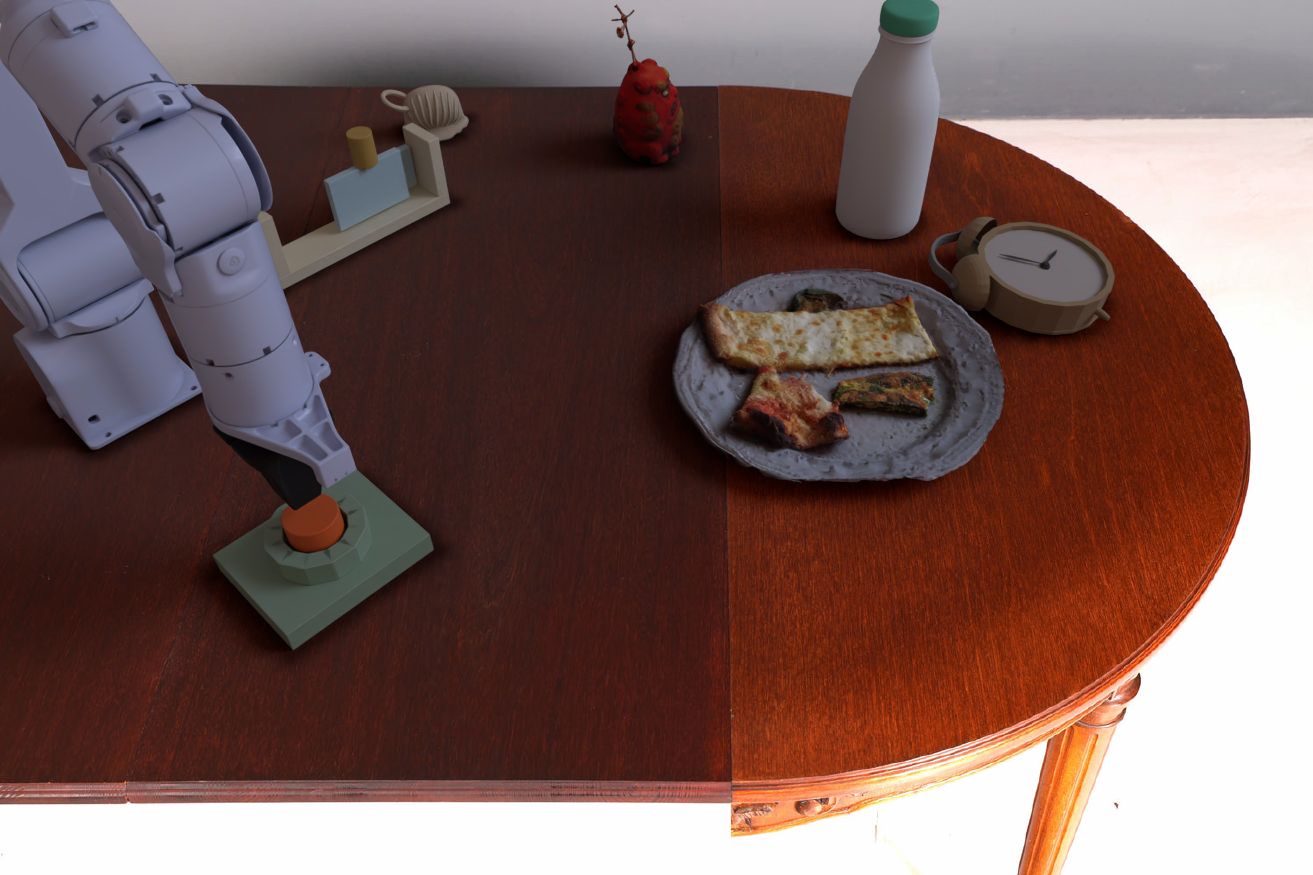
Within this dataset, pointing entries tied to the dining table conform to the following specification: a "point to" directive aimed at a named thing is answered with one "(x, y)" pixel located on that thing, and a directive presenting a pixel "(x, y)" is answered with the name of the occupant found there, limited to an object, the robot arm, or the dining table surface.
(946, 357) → the food plate
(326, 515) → the button
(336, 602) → the button block
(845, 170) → the milk bottle
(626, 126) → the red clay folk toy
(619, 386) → the dining table surface
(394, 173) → the blue panel with knob
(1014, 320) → the alarm clock
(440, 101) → the decorative ornament
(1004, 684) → the dining table surface
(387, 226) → the window frame
